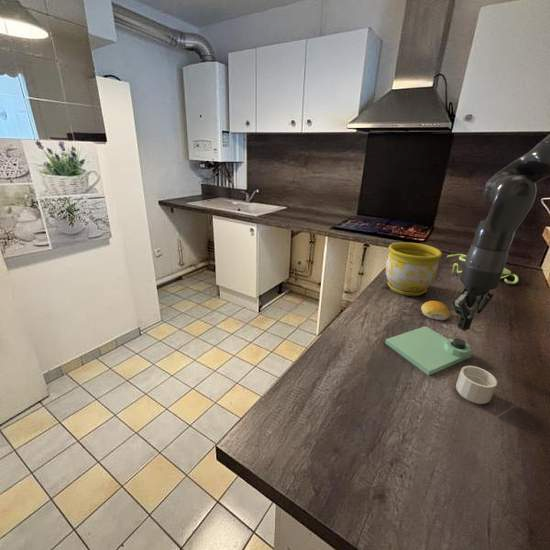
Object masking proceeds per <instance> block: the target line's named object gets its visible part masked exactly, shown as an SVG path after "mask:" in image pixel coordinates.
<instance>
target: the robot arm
mask: <svg viewBox="0 0 550 550" xmlns="http://www.w3.org/2000/svg"><path fill="white" fill-rule="evenodd" d="M546 178H550V133H549V134H548V135H547V136H546V137H544V138H543V139H542V140H541V141H539V142H538V143H537V144H536V145H535V146H534V147H533V148H532V149H531V150H529V151H528V152H527V153H525V154H523V155H522V156H520V157H518V158H516V159H515V160H513V161H512V162H511V163H509V164H508V165H505V166H504V167H503V168H501V169H500V170H499V171H497V172H496V173H494V175H492V176H491V177H490V178H489V179H488V180H487V182H486V183H485V184H484V186H483V189H482V194H481V195H482V198H483V201H484V202H485V203H486V204H488V205H489V206H490V209H489V211H488V214H487V215H486V218H485V219H482V220H480V221H479V222H478V223H477V225H476V228H475V230H474V231H475V232H474V235H473V238H472V240H471V245H470V247H469V249H468V251H467V252H466V253H467V254H466V255H467V257H466V260H465V262H464V264H463V267H462V270H461V271H462V273H461V274H460V277H459V280H460V281H461V282H462V284H463V287H462V288H461V291H460V296H459V297H458V298H456V297H453V298H452V299H451V305H452V307H453V310H454V313H455V314H456V315H458V316H460V317H459V320H458V323H457V328H458V329H460V331H461V330H462V331H464V332H466V331H469V330H470V329H471V325H472V323H473V320H474V318H475V317H477V314H479V315H480V314H482V312H483V310H484V309H485V308H486V307H487V305H488V304H489V303H490V301H491V300H492V299H493V298H494V293H492V292H490V291H492V290H496V289H497V288H498V286H499V284H500V281H501V279H502V278H501V275H503V274H502V273H503V270H504V267H506V264H507V261H508V257H509V252H510V249H511V247H512V243H513V241H514V238H515V234H516V231H517V230H518V228H519V227H520V226H521V224H522V223H523V221H524V219H526V216H527V214H528V213H529V212H530V210H531V209H532V207H533V205H534V203H535V199H536V196H537V183H538V182H540V181H541V180H544V179H546ZM500 278H501V279H500Z"/></svg>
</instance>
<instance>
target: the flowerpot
mask: <svg viewBox="0 0 550 550" xmlns="http://www.w3.org/2000/svg"><path fill="white" fill-rule="evenodd" d="M388 250H389V251H388V256H387V259H386V263H385V275H386V276H385V277H386V278H387V280H388V281H387V285H388V287H389V288H390V290H392V292H394V293H397V294H399V295H403V296H408V297H418V296H421V295H423V294H425V293H426V292H428V288H429V287H430V286H431V285H433V283H434V281H435V279H436V277H437V275H438V269H439V263H440V258H441V257H442V256H443V253H442V251H441V250H440V249H438V248H437V247H434V246H431V245H429V244H428V245H427V244H423V243H419V242H418V243H417V242H410V241H409V242H403V241H402V242H394V243H391V244H390V245H389V246H388Z"/></svg>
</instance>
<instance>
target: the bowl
mask: <svg viewBox="0 0 550 550" xmlns="http://www.w3.org/2000/svg"><path fill="white" fill-rule="evenodd" d="M497 385H498V379H497V378H496V377H495V376H494V375H493V374H492V373H490V372H489V371H487V370H486V369H483V368H481V367H479V366H475V365H465V366H462V367H461V369H460V372H459V375H458V377H457V381H456V385H455V389H456V391H457V393H458V394H459V395H460V396H461V397H462V398H463V399H465V400H466V401H468V402H471V403H474V404H477V405H484V404H488V403H489V402H491V399H492V397H493V395H494V393H495V390H496V387H497Z"/></svg>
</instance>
